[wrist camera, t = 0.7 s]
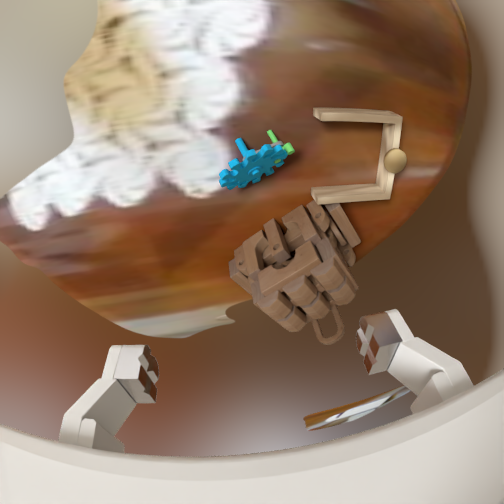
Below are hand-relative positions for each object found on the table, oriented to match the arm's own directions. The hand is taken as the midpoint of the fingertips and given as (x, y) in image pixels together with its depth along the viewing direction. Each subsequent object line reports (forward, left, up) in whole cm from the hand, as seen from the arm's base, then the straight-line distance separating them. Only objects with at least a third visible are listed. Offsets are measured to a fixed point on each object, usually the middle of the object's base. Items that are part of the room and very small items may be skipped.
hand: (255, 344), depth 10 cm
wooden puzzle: (+24, +10, -35) cm, 43 cm away
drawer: (+6, +20, -34) cm, 40 cm away
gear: (+6, +4, -35) cm, 35 cm away
